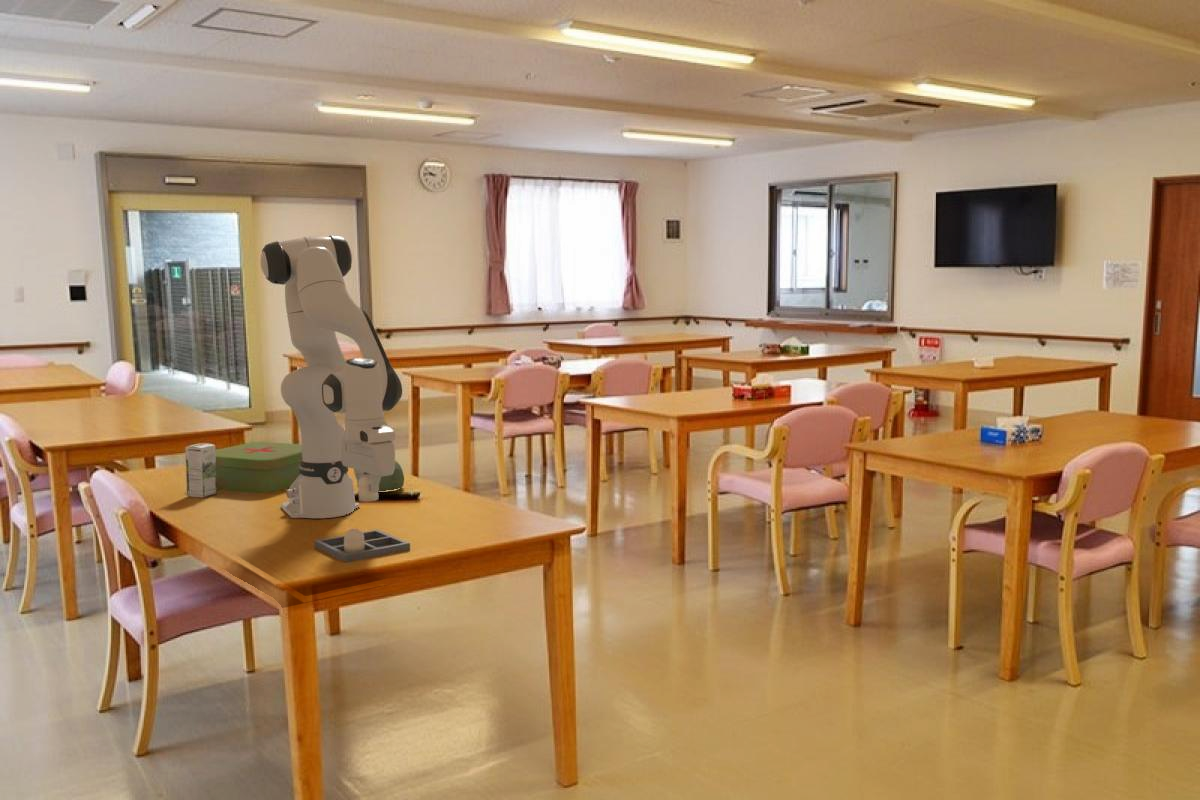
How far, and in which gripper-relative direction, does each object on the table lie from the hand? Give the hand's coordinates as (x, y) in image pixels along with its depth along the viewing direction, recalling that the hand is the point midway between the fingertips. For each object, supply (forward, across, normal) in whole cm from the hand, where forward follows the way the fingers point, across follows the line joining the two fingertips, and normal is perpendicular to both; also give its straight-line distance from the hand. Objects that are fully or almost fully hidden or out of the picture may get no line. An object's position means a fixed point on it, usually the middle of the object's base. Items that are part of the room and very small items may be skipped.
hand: (368, 490), depth 230 cm
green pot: (+13, -53, +31) cm, 63 cm away
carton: (+13, +3, -4) cm, 14 cm away
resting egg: (+12, +7, -7) cm, 16 cm away
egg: (+2, 0, 0) cm, 2 cm away
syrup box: (+12, -80, -12) cm, 82 cm away
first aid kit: (+12, -87, +8) cm, 88 cm away
